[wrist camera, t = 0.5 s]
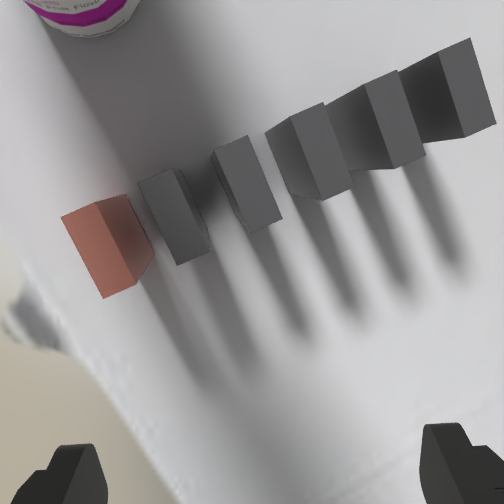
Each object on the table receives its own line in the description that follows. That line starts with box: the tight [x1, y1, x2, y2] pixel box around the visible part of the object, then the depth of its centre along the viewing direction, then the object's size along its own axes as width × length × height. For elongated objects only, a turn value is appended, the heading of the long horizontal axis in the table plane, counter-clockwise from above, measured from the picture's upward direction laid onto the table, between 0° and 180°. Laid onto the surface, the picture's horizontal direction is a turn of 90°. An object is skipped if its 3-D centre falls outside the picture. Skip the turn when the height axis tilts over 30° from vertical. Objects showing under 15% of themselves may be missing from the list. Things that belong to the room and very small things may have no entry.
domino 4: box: [265, 102, 355, 201], centre depth 30 cm, size 2×5×10 cm, turn 24°
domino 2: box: [138, 168, 210, 266], centre depth 30 cm, size 2×5×10 cm, turn 23°
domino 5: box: [325, 70, 426, 170], centre depth 30 cm, size 2×5×10 cm, turn 24°
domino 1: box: [61, 194, 154, 299], centre depth 30 cm, size 2×5×10 cm, turn 24°
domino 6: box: [398, 38, 496, 143], centre depth 31 cm, size 2×5×10 cm, turn 24°
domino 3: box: [211, 135, 283, 233], centre depth 30 cm, size 2×5×10 cm, turn 24°
